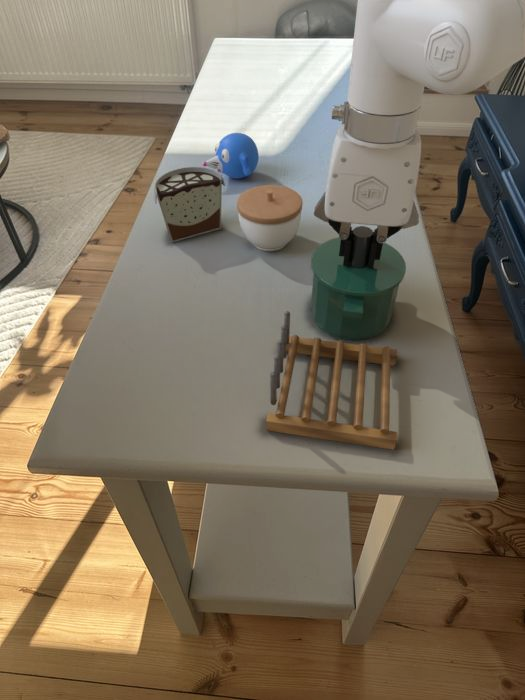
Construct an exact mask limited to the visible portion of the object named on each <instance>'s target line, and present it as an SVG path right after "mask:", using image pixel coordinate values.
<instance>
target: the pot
mask: <svg viewBox="0 0 525 700" xmlns="http://www.w3.org/2000/svg"><path fill="white" fill-rule="evenodd" d="M312 274H313V275H312V276H313V277H312V288H311V289H312V290H311V301H310V314H311V317H312V319H313V321H314V323H315V324H316V326H317V327H318V328H319V329H321V330H322V331H323V332H324V333H326V334H327V335H330V336H331V337H332V336H333V337H335V338H338V339H342V340H347V341H362V340H367V339H368V340H369V339H371V338H373V337H377V336H378V335H379V334H381V333H382V332H384V331H385V330H386V329H387V327H388V325H389V324H390V321H391V320H392V316H393V311H394V308H395V303H396V301H397V300H396V299H397V296H398V291H399V287H400V284H399V285H398V286H397V287H395V288H394V289H392V290H390V291H388V292H386V293H383V294H379V295H374V296H352V295H347V294H342V293H339V292H336V291H334V290H332V289H330V288H328V287H326V286H325V285H323V284H322V283H321V282H320V281H319V280H318V279H317V278H316V277H315V275H314V273H312Z"/></svg>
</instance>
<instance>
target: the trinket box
mask: <svg viewBox="0 0 525 700" xmlns="http://www.w3.org/2000/svg"><path fill="white" fill-rule="evenodd" d="M236 200H237V201H236V208H237V215H238V222H239V226H240V229H241V232H242V233H243V236H244V237H245V238H246V240H247V241H248V242H249V243H251V244H252V245H253V246H254V247H255V248H256V249H257V250H260V251H263V252H275V251H279V250H281V249H283V248H285V247H286V246H287V245H288V244H289V243H290V242H291V241H292V240H293V239H294V237H295V236H296V235H297V233H298V231H299V227H300V225H301V218H302V210H303V198H302V196H301V195H300V194H299V193H298V192H297V191H296V190H294V189H292V188H290V187H286V186H285V185H284V186H283V185H277V184H263V185H258V186H253V187H250V188H249V189H246V190H245V191H243V192H242V193H241V194H240V195H239V196H238V198H237V199H236Z"/></svg>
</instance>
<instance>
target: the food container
mask: <svg viewBox="0 0 525 700" xmlns="http://www.w3.org/2000/svg"><path fill="white" fill-rule="evenodd" d="M223 187H226V183H225V180H224V178H223V176H222V173H220V172H218V171H216V170H215V169H213V168H209V167H208V168H207V167H204V166H187V167H180V168H176V169H172V170H169V171H167V172H166V173H163V174H162V175H161V176H159V178H158V179H157V180H156V181H155V183H154V188H153V201H154V204H155V205H157V203H158V205H159V207H160V210H161V214H162V217H163V220H164V223H165V226H166V229H167V233H168V236H169V240H170V242H171V243H176V242H179V241H183V240H186V239H189V238H193V237H197V236H201V235H204V234H207V233H211V232H214V231H217V230H221V229H222V199H223V198H222V196H223V195H222V194H223V192H222V191H223ZM157 200H158V202H157Z"/></svg>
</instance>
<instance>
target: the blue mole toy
mask: <svg viewBox="0 0 525 700" xmlns="http://www.w3.org/2000/svg"><path fill="white" fill-rule="evenodd" d="M214 153H215V154H214V156H213V157H211V158H209V159H207V160H205V161H203V162H202V163H201V165H202V167H208V168H210V169H212V170H217V171H216V172H218V173H219V174H223V175H225V176H227V177H229V178H231V179H244V178H246V177H248V176H250V175H252V174H253V172H254V171H255V170H256V169H257V167H258V163H259V150H258V147H257V144H256V142H255V141H254V140H253V138H251V136H249V135H247V134H245V133H241V132H232V133H229V134H227V135H225V136H223V137H222V138H221V139H220V140H219V142H218V143H217V144H216V145H215V148H214Z"/></svg>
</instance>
